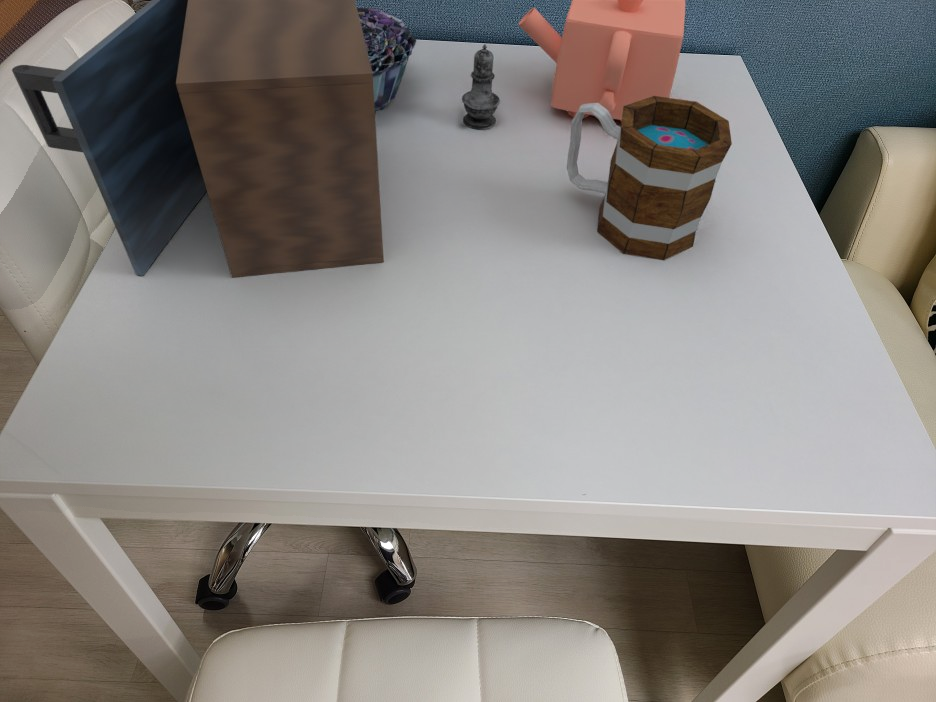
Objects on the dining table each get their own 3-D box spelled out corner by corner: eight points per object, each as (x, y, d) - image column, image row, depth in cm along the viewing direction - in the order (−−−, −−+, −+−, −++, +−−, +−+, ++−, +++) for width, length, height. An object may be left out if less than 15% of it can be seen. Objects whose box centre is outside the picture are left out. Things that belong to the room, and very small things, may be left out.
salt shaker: (453, 120, 105) (455, 43, 96) (478, 107, 108) (483, 31, 99) (480, 135, 103) (486, 57, 94) (505, 121, 106) (513, 45, 97)
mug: (710, 220, 91) (750, 119, 80) (673, 274, 84) (711, 171, 72) (581, 170, 98) (602, 70, 87) (536, 216, 90) (552, 112, 79)
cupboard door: (89, 267, 79) (-8, 72, 61) (188, 148, 96) (134, -31, 78) (143, 275, 79) (61, 81, 61) (232, 155, 96) (189, -24, 78)
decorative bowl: (419, 141, 104) (424, 79, 97) (233, 133, 99) (223, 68, 92) (406, 63, 121) (409, 5, 113) (246, 53, 116) (239, -8, 108)
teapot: (498, 122, 106) (509, 3, 92) (524, 59, 120) (536, -52, 107) (658, 149, 103) (693, 30, 89) (664, 81, 117) (695, -30, 104)
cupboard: (231, 277, 79) (175, 83, 61) (235, 155, 96) (191, -26, 78) (383, 262, 82) (372, 73, 64) (361, 146, 99) (347, -30, 81)
